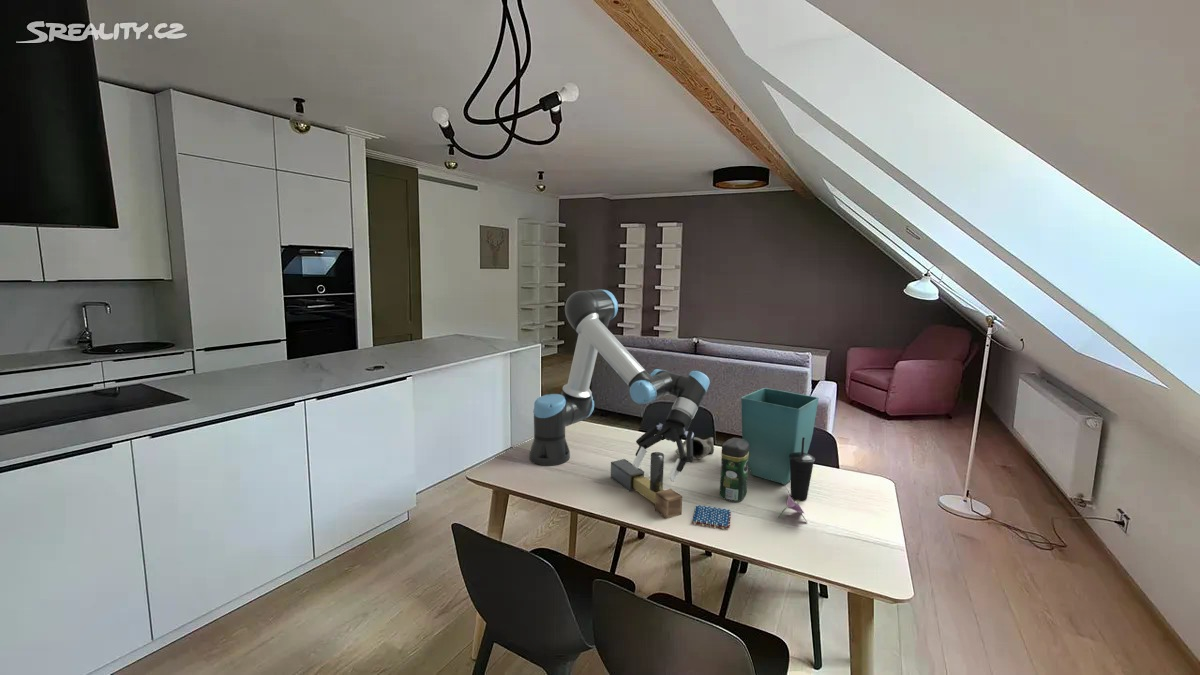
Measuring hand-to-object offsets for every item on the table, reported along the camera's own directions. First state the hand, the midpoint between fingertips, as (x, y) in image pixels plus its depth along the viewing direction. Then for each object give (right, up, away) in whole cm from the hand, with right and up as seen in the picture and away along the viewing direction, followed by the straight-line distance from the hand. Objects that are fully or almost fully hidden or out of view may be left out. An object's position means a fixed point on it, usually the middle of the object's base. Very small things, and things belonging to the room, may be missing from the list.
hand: (652, 473), depth 155 cm
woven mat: (+17, -13, -5) cm, 22 cm away
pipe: (+21, -5, +42) cm, 47 cm away
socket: (+5, -11, -2) cm, 12 cm away
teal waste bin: (+46, -8, +26) cm, 53 cm away
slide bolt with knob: (0, -9, +6) cm, 11 cm away
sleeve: (-7, -8, +18) cm, 20 cm away
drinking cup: (+48, -10, +9) cm, 50 cm away
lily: (+41, -12, -4) cm, 43 cm away
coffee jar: (+27, -10, +9) cm, 30 cm away
